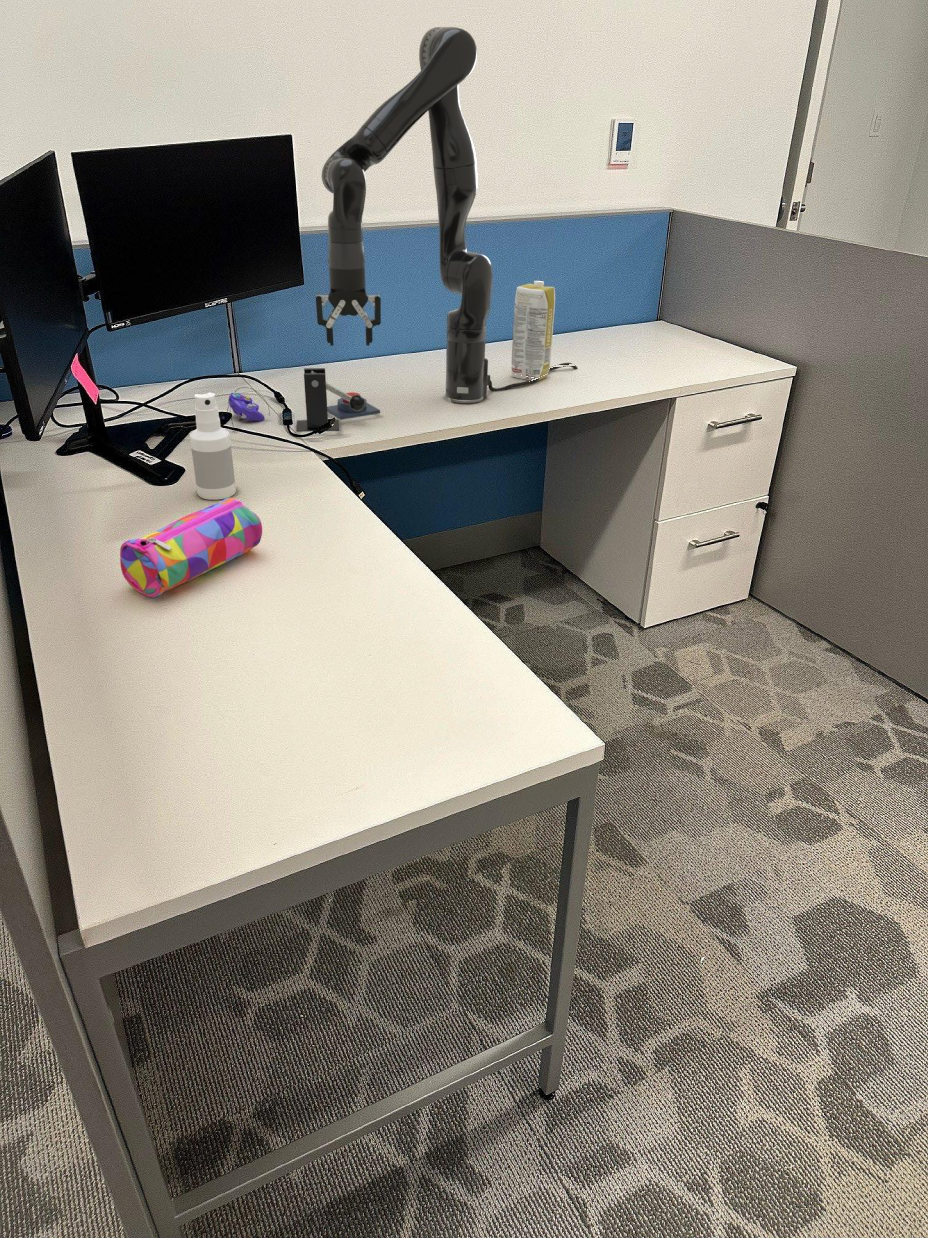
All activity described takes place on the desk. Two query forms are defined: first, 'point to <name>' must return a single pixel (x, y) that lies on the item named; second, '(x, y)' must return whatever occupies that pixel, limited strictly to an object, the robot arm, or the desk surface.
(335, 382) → the desk surface
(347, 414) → the button box
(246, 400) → the game controller
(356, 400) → the switch lever
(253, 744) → the desk surface
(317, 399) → the switch bracket
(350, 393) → the stop button
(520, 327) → the juice carton
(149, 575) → the pencil case
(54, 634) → the desk surface
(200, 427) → the spray bottle
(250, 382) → the desk surface
